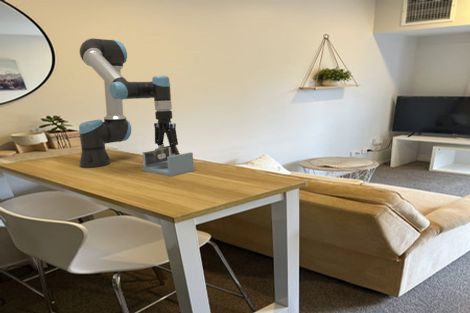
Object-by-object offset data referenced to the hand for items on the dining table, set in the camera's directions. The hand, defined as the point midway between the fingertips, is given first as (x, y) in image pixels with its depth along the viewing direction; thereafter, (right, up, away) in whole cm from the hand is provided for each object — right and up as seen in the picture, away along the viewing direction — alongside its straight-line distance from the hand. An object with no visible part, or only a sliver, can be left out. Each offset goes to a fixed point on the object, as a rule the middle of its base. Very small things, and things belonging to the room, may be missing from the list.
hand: (167, 159), depth 160 cm
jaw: (-7, -3, +7) cm, 10 cm away
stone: (0, 0, 0) cm, 1 cm away
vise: (0, -5, +1) cm, 5 cm away
